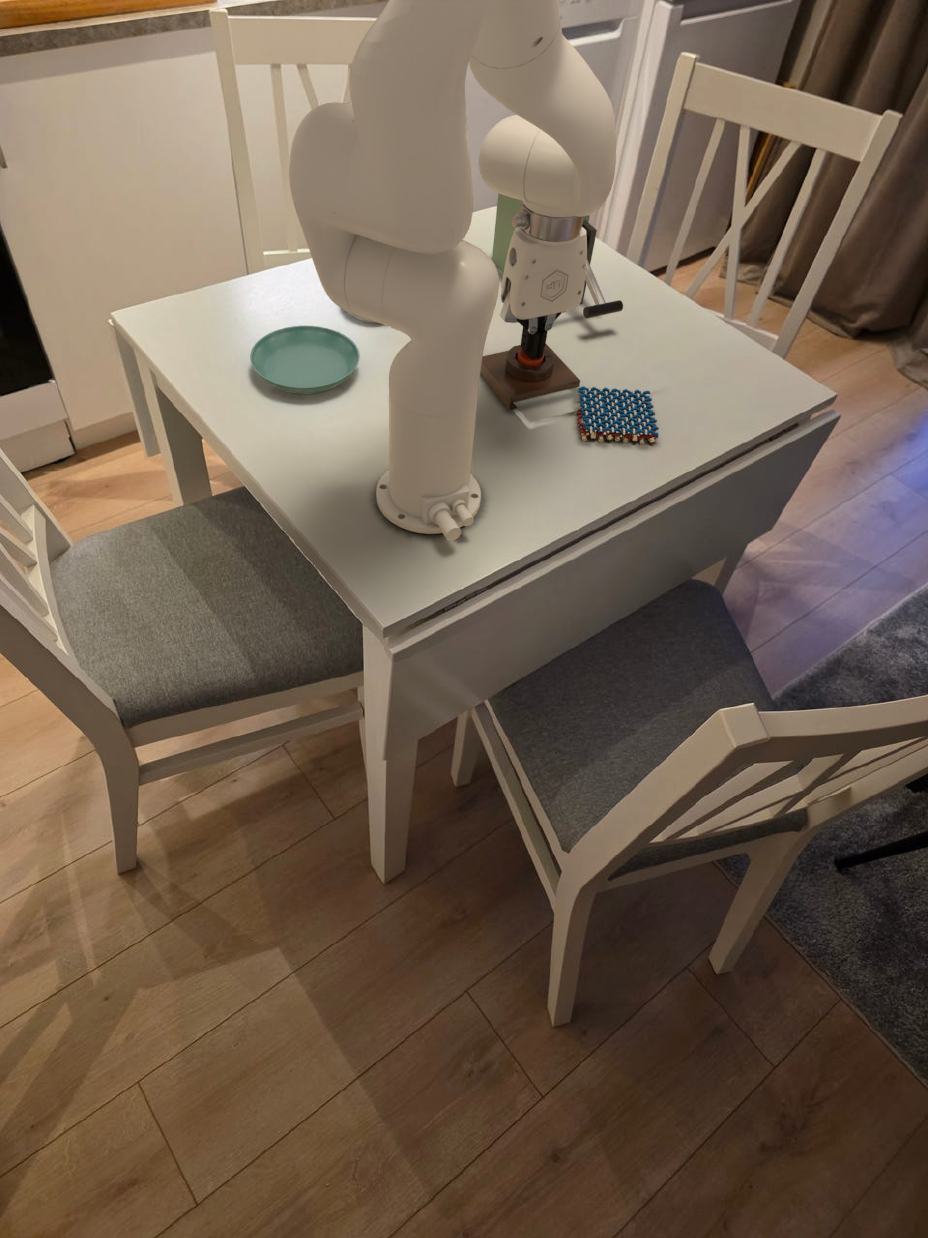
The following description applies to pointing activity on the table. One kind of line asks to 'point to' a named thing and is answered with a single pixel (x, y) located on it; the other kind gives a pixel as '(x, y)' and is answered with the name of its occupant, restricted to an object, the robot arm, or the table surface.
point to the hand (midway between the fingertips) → (531, 353)
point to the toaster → (506, 228)
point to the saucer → (305, 358)
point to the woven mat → (616, 415)
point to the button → (528, 359)
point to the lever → (598, 298)
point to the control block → (525, 376)
